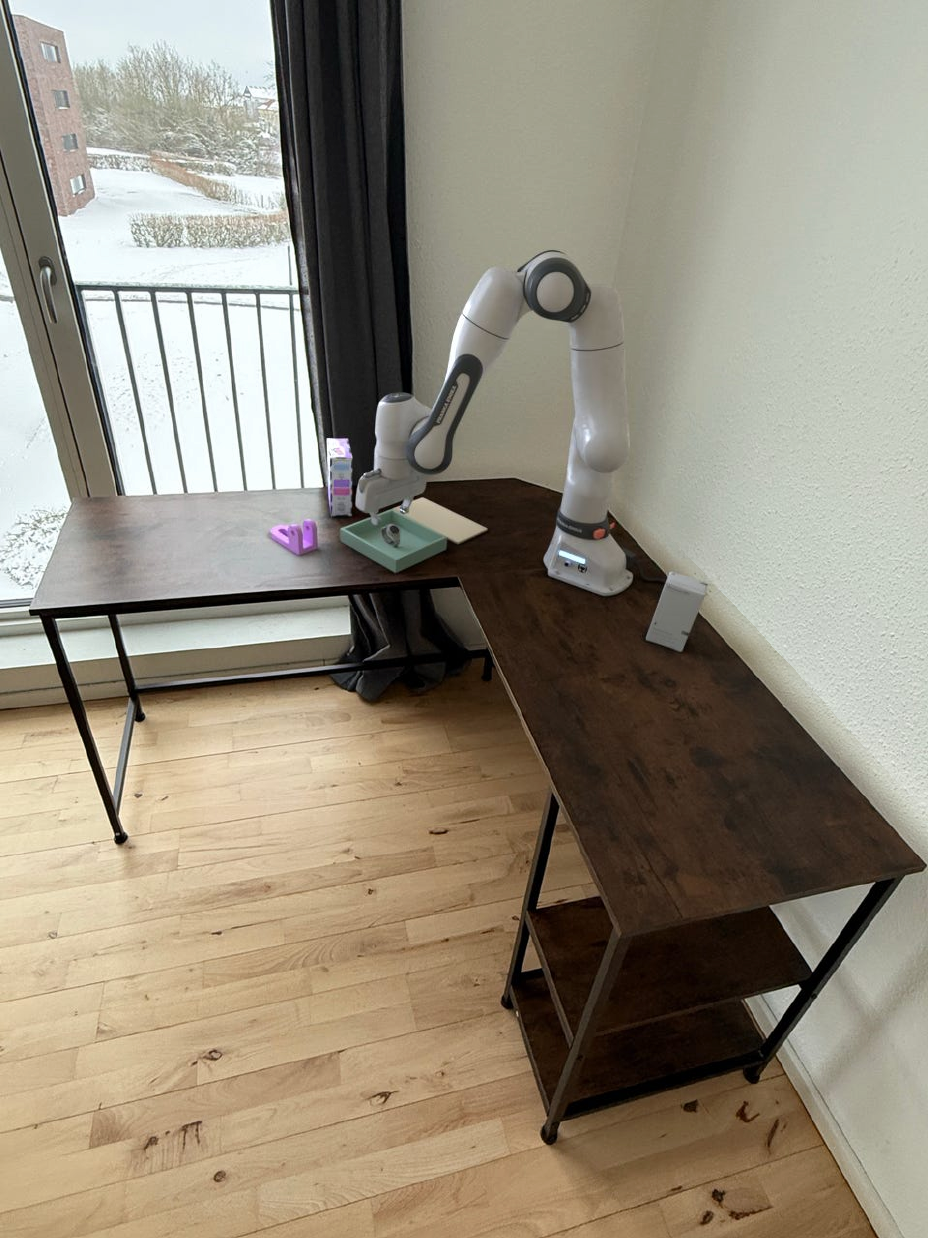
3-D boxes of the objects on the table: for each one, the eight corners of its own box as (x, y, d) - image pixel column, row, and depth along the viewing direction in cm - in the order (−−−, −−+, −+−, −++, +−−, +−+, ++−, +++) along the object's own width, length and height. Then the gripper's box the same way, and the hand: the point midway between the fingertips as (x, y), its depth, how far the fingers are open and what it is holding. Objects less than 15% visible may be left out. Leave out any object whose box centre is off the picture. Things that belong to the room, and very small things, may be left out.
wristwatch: (392, 549, 164) (393, 531, 161) (377, 539, 168) (378, 521, 165) (403, 546, 166) (404, 528, 163) (388, 535, 170) (389, 518, 167)
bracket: (317, 548, 162) (316, 522, 158) (298, 555, 158) (297, 529, 154) (285, 528, 168) (283, 502, 164) (266, 534, 165) (264, 508, 161)
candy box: (352, 516, 177) (353, 457, 167) (330, 517, 175) (329, 457, 166) (348, 494, 187) (348, 437, 178) (327, 494, 186) (326, 436, 177)
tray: (446, 549, 167) (447, 537, 165) (395, 573, 156) (396, 560, 154) (391, 520, 177) (392, 508, 175) (340, 541, 166) (340, 528, 164)
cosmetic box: (644, 640, 143) (663, 582, 135) (650, 626, 148) (668, 569, 140) (683, 653, 141) (705, 594, 133) (688, 638, 146) (709, 581, 137)
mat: (487, 530, 178) (487, 528, 178) (457, 544, 170) (458, 542, 170) (422, 498, 190) (422, 497, 189) (391, 510, 182) (392, 508, 182)
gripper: (369, 479, 147) (367, 535, 154) (432, 459, 160) (428, 511, 168) (349, 470, 150) (349, 525, 158) (413, 450, 163) (410, 502, 171)
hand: (390, 518), depth 163 cm, fingers open, 8 cm apart
